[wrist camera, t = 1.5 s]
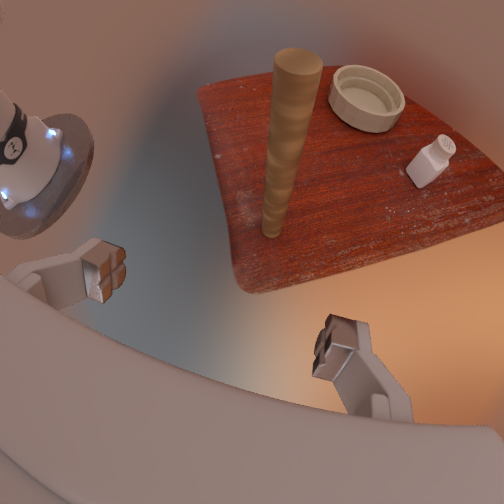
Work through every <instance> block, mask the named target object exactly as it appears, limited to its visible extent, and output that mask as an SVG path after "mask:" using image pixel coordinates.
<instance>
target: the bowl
mask: <svg viewBox="0 0 504 504" xmlns="http://www.w3.org/2000/svg"><path fill="white" fill-rule="evenodd" d="M328 101H329V103H330V105H331V108H332V110H333V111H334V112H335V113H336V114H337V115H338V116H339V117H340V119H342V120H343V121H345V122H346V123H348V124H349V125H351V126H353V127H355V128H358V129H360V130H363V131H366V132H374V133H379V132H384V131H388V130H389V129H390V128H391V127H393V126H394V124H395V123H396V121H397V119H398V118H399V116H400V114H401V113H402V111H403V108H404V105H405V100H404V95H403V93H402V92H401V90H400V88H399V87H398V85H396V84H395V83H394V82H393V81H392V80H391V79H390V78H389V77H387V76H386V75H384V74H382V73H381V72H379V71H377V70H374V69H372V68H369V67H365V66H359V65H346V66H344V67H342V68H339V69H338V70H337V71H336V73H335V74H334V76H333V79H332V83H331V86H330V90H329V99H328Z"/></svg>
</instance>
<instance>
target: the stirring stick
mask: <svg viewBox="0 0 504 504" xmlns="http://www.w3.org/2000/svg"><path fill="white" fill-rule="evenodd" d="M322 69H323V63H322V60H321V59H320V58H319V57H318V56H317V55H316V54H314V53H312V52H310V51H308V50H305V49H300V48H288V49H284V50H281V51H279V52H278V53H277V54H276V55H275V57H274V67H273V81H272V95H271V109H270V122H269V136H268V149H267V162H266V175H265V187H264V200H263V212H262V225H261V230H262V233H263V234H264V235H265V236H266V237H268V238H275V237H277V236H279V235H280V233H281V230H282V227H283V223H284V219H285V216H286V212H287V208H288V204H289V201H290V197H291V193H292V189H293V185H294V182H295V178H296V174H297V170H298V166H299V162H300V158H301V155H302V151H303V147H304V143H305V139H306V135H307V131H308V127H309V123H310V119H311V115H312V110H313V106H314V102H315V98H316V94H317V90H318V86H319V81H320V77H321V73H322Z"/></svg>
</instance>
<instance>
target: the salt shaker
mask: <svg viewBox="0 0 504 504" xmlns="http://www.w3.org/2000/svg"><path fill="white" fill-rule="evenodd" d="M455 151H456V146H455V144H454V142H453V141H452V140H451V139H450V138H449V137H448V136H446V135H439V136H438V138H437V139H436V140H435V141H434V142H433V144H430V145H428V146H426V147H424V148H422V149H421V150H420V152H419V153H418V154H417V155H416V157H415V158H414V159H413V160H412V162H411V163H410V164H409V165H408V166H407V168H406V172H407V174H408V175H409V176H410V178H411V179H412V181H413V182H414V183H415V185H416V186H417V187H418V188H422V187H424V186H426V185H427V184H429V183H430V182H432V181H433V180H434V179H435V178H436V177H437V176H438V175H439V174H440V173H441V172H442V171H443V170H444V169H445V168H446V167H447V166H448V165H449V162H448V159H449V158H450V157H451V156H452V155H453V154H454V153H455Z"/></svg>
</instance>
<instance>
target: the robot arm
mask: <svg viewBox="0 0 504 504" xmlns="http://www.w3.org/2000/svg"><path fill="white" fill-rule="evenodd" d="M3 14H4V4H3V0H0V25H1V23H2V19H3ZM62 136H63V132H62V131H61V130H60V129H55V128H48V127H47V126H46V125H45V124H44V123H43V122H42V121H41V120H40V119H39V118H38V117H37V116H35V117H34V116H29V117H27V116H26V115H25V114H24V112H23V110H22V109H21V108H20V107H18V106H17V105H16V104H14V103H12V102H11V101H10V100H9V99H8V97H7V96H6V95H5V94H4V92H3V91H2V90H1V89H0V198H1V200H2V202H3V205H4V207H5V208H6V209H7V210H11V209H12V208H14V207H15V206H16V205H17V204H19V203H23V202H26V201H29V200H31V199H32V198H34V197H35V196H37V195H38V194H39V193H40V192H41V191H42V190H43V189H44V188H45V187H46V185H47V184H48V183H49V181H50V180H51V178H52V177H53V175H54V173H55V171H56V169H57V167H58V164H59V161H60V155H61V148H60V143H61V140H62ZM125 258H126V254H125V250H124V248H122V247H119V246H117V245H114V244H111V243H109V242H106V241H103V240H101V239H98V238H91V239H90V240H89V241H87V242H86V243H84V244H83V245H82V246H80V247H79V248H77V249H76V250H75V251H73V252H72V253H71V254H68V253H65V254H61V255H56V256H52V257H47V258H43V259H39V260H34V261H30V262H26V263H21V264H20V265H18V266H17V267H16V268H14V269H13V270H12V271H10V272H9V273H8V274H7V275H5V276H2V275H1V274H0V504H504V442H503V440H502V439H501V438H500V437H499V435H498V434H497V433H496V432H495V431H494V430H493V429H492V428H491V427H490V426H487V425H443V424H442V425H441V424H424V423H414V419H413V411H412V404H411V399H410V397H409V396H408V394H407V393H406V392H405V390H404V389H403V388H402V387H401V385H400V384H399V383H398V382H397V380H396V379H395V378H394V376H393V375H392V374H391V373H390V372H389V370H388V369H387V368H386V366H385V365H384V364H383V363H382V361H381V360H380V359H379V358H378V356H377V355H375V354H373V352H372V345H371V337H370V331H369V325H368V323H365V322H361V321H357V320H351V319H347V318H344V317H340V316H336V315H332V314H329V316H328V317H327V319H326V321H325V328H324V329H322V330H321V331H320V333H319V335H318V338H317V341H316V344H315V350H314V355H315V356H316V359H315V360H314V363H313V371H312V372H313V373H312V376H313V377H316V378H320V379H324V380H328V381H332V382H333V383H334V386H335V388H336V390H337V392H338V394H339V396H340V397H341V400H342V402H343V404H344V406H345V408H346V410H347V412H348V414H343V413H338V412H333V411H328V410H323V409H318V408H313V407H309V406H304V405H300V404H295V403H291V402H287V401H283V400H279V399H275V398H271V397H268V396H264V395H260V394H257V393H253V392H250V391H246V390H243V389H240V388H237V387H233V386H230V385H227V384H224V383H221V382H218V381H215V380H212V379H209V378H206V377H203V376H201V375H198V374H195V373H192V372H190V371H187V370H184V369H181V368H179V367H176V366H174V365H171V364H169V363H166V362H164V361H161V360H159V359H156V358H154V357H151V356H149V355H147V354H144V353H142V352H139V351H137V350H135V349H133V348H131V347H128V346H126V345H124V344H122V343H120V342H118V341H116V340H113V339H111V338H109V337H107V336H105V335H103V334H101V333H99V332H97V331H95V330H93V329H91V328H89V327H87V326H85V325H83V324H82V323H79V322H78V321H76V320H74V319H72V318H70V317H69V316H67V315H65V314H63V313H61V312H60V311H58V310H60V309H62V308H65V307H67V306H69V305H72V304H74V303H76V302H79V301H81V300H83V299H86V298H87V297H88V298H91V299H93V300H95V301H97V302H100V303H102V304H104V303H105V302H106V300H108V299H109V298H110V297H111V295H112V290H114V289H118V288H119V287H120V286H121V285H122V283H123V281H124V279H125V276H126V266H125V265H124V263H123V260H124V259H125Z"/></svg>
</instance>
